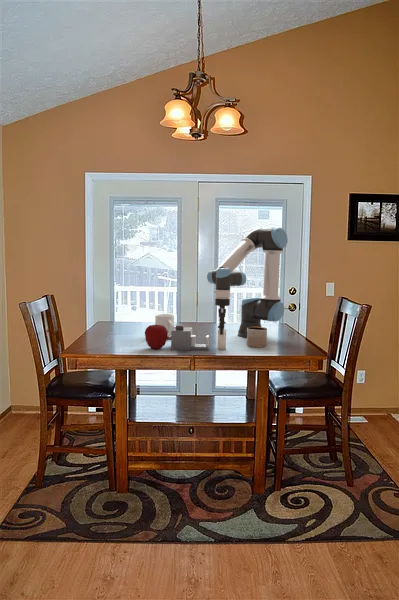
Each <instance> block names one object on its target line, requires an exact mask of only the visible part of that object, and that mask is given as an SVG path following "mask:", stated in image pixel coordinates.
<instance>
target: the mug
mask: <svg viewBox="0 0 399 600" xmlns="http://www.w3.org/2000/svg"><path fill="white" fill-rule="evenodd" d="M154 318H155V320H154V322H155V324H154V325H163V326H164V327H165V328H166V329H167V331H168V335H167V336H171V330H172V329H173V327H175V315H174V314H171V313H160V314H159V313H158V314H157V313H156V314H155V317H154Z"/></svg>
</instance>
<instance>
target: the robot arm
mask: <svg viewBox="0 0 399 600" xmlns="http://www.w3.org/2000/svg"><path fill="white" fill-rule="evenodd" d="M287 245H288V234H287V232H286V231H285V229H284V228H282V227H277V226H274V227H258V228H255V229H253V230H251V231H250V232H248V233H246V235H245V236H243V238H242V239H241V240H240V243H239V244H238V246H237V247H236V248H235V249H234V250H233V251H232V252H231V253H230V254H229V255H228V256H227V257H226V258H225V260H223V261H222V263H221V264H220V265H219V266H218V267H217V268H216V269H212V270H209V271H208V272H207V275H206V276H207V277H206V278H207V279H206V280H207V281H208V283H209V284H212V285H215V290H214V293H213V294H215V300H214V301H215V303H214V305H215V306H219V308H218V310H217V311H218V318H219V323H218V326H217V329H218V330H219V341H224V330H225V324H226V321H225V318H226V312H227V308H226V307H228V306H231V305H230V304H231V303H230V302H231V301H230V300H231V299H230V297H231V287H241V286H244V285H245V284H246V282H247V275H246V274H245V272H243V271H235V270H236V269H237V267H239V265H240V264H241V263H242V262H243V261H244V260H245V258H246V257H248V255H249V254H250V253H253V252H254V251H255V250H257V249H259V248H261V249H262V252H263V254H264V266H263V267H264V268H263V269H264V270H263V291H262V292H263V293H262V296H260V297H256V296H255V297H246V298H242V300H241V307H240V308H241V310H240V311H241V315H240V316H241V318H240V319H241V321H240V325H239V328H238V330H237V336H238V337H242V338H247V328H248V327H262V324H261V321H266V322H267V321H268V322H274V323H275V322H278V321H280V320H281V319H282V317H283V316H284V313H285V305H284V303H283V302H282V301H281V298H280V296H279V286H280V285H279V282H280V264H281V263H280V260H281V259H280V258H281V254H282V253H283V252H284V249H285V248H286V247H287Z"/></svg>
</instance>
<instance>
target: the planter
mask: <svg viewBox="0 0 399 600" xmlns="http://www.w3.org/2000/svg"><path fill="white" fill-rule="evenodd" d="M246 345H247V346H248V347H251V348H265V347H266V346H267V345H268V328H266V327H263V326H261V327H248V328H247V337H246Z"/></svg>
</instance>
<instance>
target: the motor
mask: <svg viewBox="0 0 399 600" xmlns="http://www.w3.org/2000/svg"><path fill="white" fill-rule="evenodd" d="M196 335H197V334H193V326H190V327H187V326H185V325H184V324H176V325H175V326H174V327H173V329H172V330H171V336H167V340H166V341H170V350H171V351H191V350H192V351H193V350H197V351H198V350H199V351H201V350H202V351H204V350H205V351H209V349H210V348H209V347H210V335H209V334H208V335H206V336H205V338H206V339H205V340H206V341H205V343H197V342H196V341H197V340H196V337H197V336H196Z"/></svg>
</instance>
